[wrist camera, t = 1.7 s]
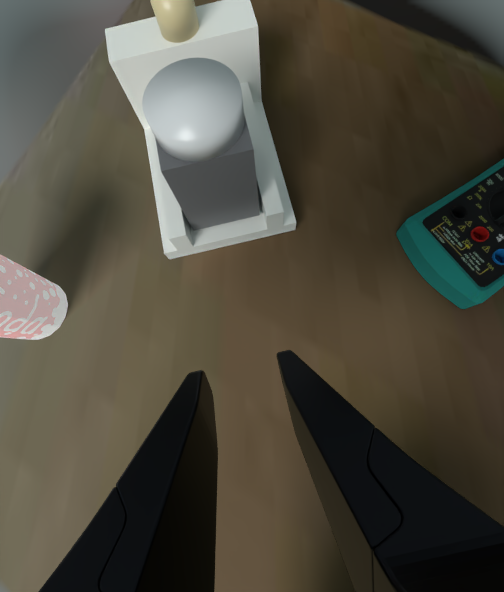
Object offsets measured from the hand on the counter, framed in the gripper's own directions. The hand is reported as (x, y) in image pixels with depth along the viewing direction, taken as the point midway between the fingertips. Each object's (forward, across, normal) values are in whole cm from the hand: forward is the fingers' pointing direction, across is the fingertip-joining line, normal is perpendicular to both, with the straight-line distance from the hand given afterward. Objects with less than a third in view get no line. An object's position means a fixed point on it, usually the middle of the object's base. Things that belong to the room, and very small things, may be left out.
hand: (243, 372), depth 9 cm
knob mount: (+22, 0, -3) cm, 22 cm away
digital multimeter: (+15, -20, +5) cm, 25 cm away
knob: (+18, 0, -1) cm, 18 cm away
